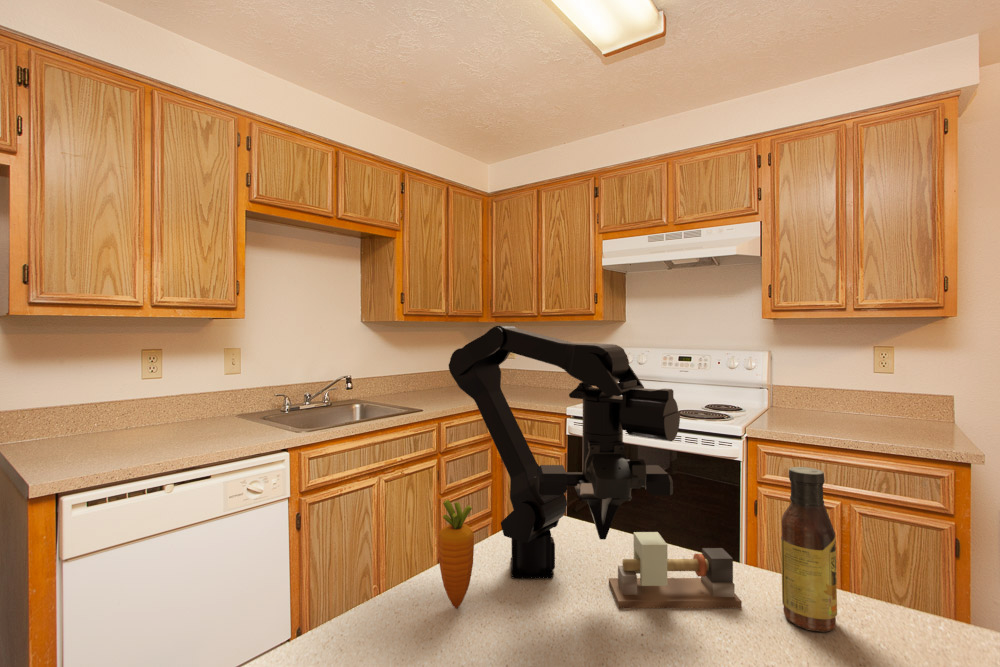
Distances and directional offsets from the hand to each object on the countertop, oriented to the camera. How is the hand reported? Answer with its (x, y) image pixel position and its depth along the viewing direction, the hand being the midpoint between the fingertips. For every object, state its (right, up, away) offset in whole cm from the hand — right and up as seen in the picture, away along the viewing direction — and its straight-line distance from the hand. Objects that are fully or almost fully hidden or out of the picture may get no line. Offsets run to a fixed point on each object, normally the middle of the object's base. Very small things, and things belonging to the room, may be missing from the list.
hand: (602, 538), depth 73 cm
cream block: (+7, -6, 0) cm, 9 cm away
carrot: (-21, -9, -3) cm, 23 cm away
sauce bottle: (+26, -9, -6) cm, 28 cm away
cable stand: (+10, -8, 0) cm, 13 cm away
